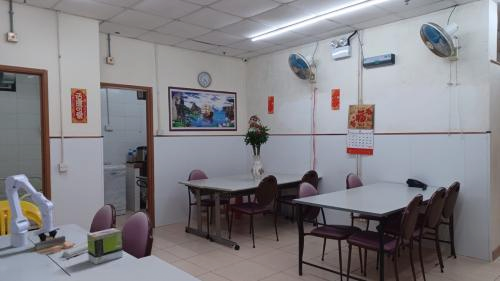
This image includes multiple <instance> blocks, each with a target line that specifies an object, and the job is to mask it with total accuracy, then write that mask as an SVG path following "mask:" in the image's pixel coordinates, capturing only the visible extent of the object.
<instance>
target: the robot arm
mask: <svg viewBox="0 0 500 281" xmlns="http://www.w3.org/2000/svg"><path fill="white" fill-rule="evenodd" d="M4 184H5V193H6V198H7V202H8V203H7V204H8V206H9V210H10V214H11V220H10V221H9V228H8V229H9V232H10V233H11V235H10V238H9V239H10V241H9V242H10V247H11V246H12V247H13V248H21V247H25V246H28V232H29V229H30V227H31V224H30V221H29V220H28V218H27V217H26V216H24V215H23V210H22V206H21V202H20V197H19V194H18V190H19V189H20V188H21V189H23V190H25V192H27V194H29V195H30V196H31V200H32V201H33V202H34V203H35V204H36V206H38V211H39V212H40V216H41V219H40V220H41V229H39V230H37V231H33V235H34V236H35V237H36V236H38V238H39V241H40V240H41V242H42V241H46V235H47V233H48V236H51V237H53V238H56V236H57V234H58V231H59V230H61V226H59V225H58V226H53V225H54V224H53V222H54V221H53V210H54V209H55V203H54V202H53V201H52V200H49V199H48V198H46V197H45V195H44V194H43V192H38V191H37V190H36V189H35V187H34V186H33V185H32V184H31V183H30V181H29V178H28V177H27V176H26V175H25V174H24V173H23V174H22V173H21V174H16V175H8V176H7V177H6V179H5V180H4Z"/></svg>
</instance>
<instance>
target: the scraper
mask: <svg viewBox="0 0 500 281" xmlns="http://www.w3.org/2000/svg"><path fill="white" fill-rule="evenodd" d="M45 235H46V241H42V242H41V240H40V239H39V242H35V243H34V247H35V251H39V250H42V249H46V248H49V247H53V246H56V245H59V244H63V243H64V242H66V236H65V235H61V236H57V237H55V238H53V237H51V236H49V234H48V235H47V234H45Z"/></svg>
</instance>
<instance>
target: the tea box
mask: <svg viewBox="0 0 500 281" xmlns="http://www.w3.org/2000/svg"><path fill="white" fill-rule="evenodd" d="M86 236H87V238H86V239H87V242H88V250H87V251H88V252H87V256H88V257H87V258H88V261H90V262H91V263H92V264H94V265H97V264H101V263H105V262H108V261H111V260H115V259H119V258H123V257H124V256H123V255H124V254H123V239H122V231H121V230H120V229H117V228H114V227H112V228H108V229H103V230H100V231H94V232H90V233H87V234H86Z"/></svg>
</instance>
